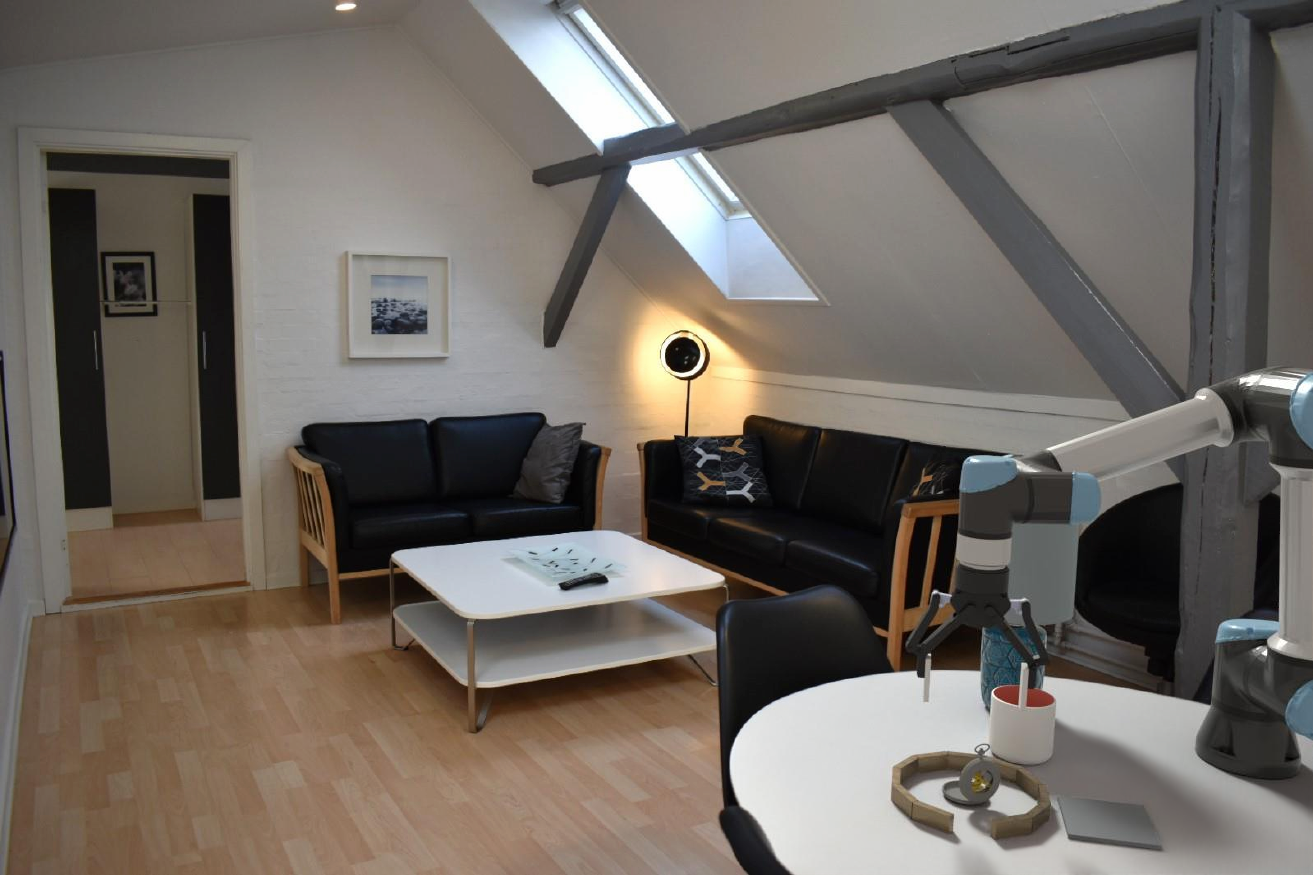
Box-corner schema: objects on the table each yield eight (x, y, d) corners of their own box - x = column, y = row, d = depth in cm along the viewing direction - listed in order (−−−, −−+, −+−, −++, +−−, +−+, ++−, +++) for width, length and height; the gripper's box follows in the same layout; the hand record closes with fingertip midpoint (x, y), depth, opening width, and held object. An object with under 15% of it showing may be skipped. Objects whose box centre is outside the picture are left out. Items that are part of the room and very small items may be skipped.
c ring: (1039, 776, 167) (1040, 761, 166) (1057, 847, 145) (1058, 830, 145) (893, 759, 172) (893, 744, 172) (889, 826, 150) (890, 809, 150)
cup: (1056, 770, 169) (1061, 710, 168) (991, 764, 171) (994, 704, 170) (1047, 744, 179) (1051, 687, 177) (985, 738, 181) (988, 682, 179)
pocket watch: (953, 782, 164) (956, 720, 163) (1006, 799, 159) (1010, 735, 158) (929, 801, 158) (933, 737, 157) (984, 819, 153) (988, 753, 151)
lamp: (969, 728, 185) (981, 515, 180) (944, 687, 204) (954, 493, 199) (1082, 731, 184) (1097, 517, 179) (1046, 690, 203) (1058, 496, 198)
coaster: (1143, 808, 157) (1143, 804, 157) (1161, 849, 145) (1161, 845, 145) (1057, 798, 159) (1057, 794, 159) (1068, 837, 148) (1068, 833, 148)
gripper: (1070, 563, 154) (1060, 703, 157) (894, 550, 160) (887, 685, 163) (1078, 576, 147) (1066, 723, 150) (893, 562, 153) (886, 703, 156)
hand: (973, 703), depth 157 cm, fingers open, 13 cm apart
